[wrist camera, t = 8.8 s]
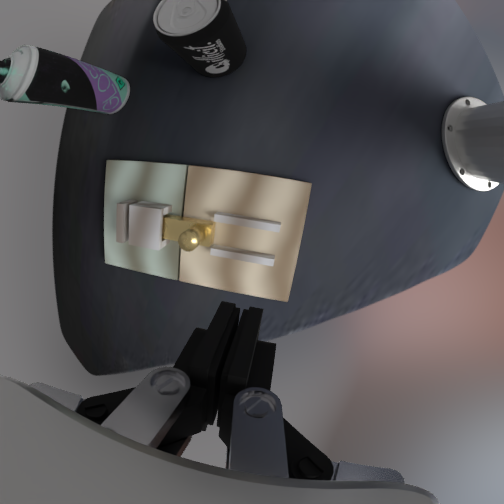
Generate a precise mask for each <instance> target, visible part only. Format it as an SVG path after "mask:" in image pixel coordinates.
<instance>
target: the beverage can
mask: <svg viewBox="0 0 504 504" xmlns="http://www.w3.org/2000/svg"><path fill="white" fill-rule="evenodd" d="M153 22H154V25H155V27H156V31H157V34H158V36H159V38H160V39H161V40H162V41H163V42H165V43H166V44H167V45H168V46H169V47H170V48H172V49H173V50H174V51H175V52H176V53H177V54H178V55H179V56H181V57H182V58H183V59H184V60H185V61H186V62H187V63H188V64H189V65H191V66H192V67H193V68H194V69H195V70H196V71H197V72H198V73H200V74H202V75H204V76H208V77H220V76H224V75H227V74H229V73H231V72H233V71H234V70H236V69H237V68H238V67H239V66H240V65H241V64H242V62H243V61H244V59H245V56H246V45H245V43H244V40H243V38H242V35H241V33H240V30H239V28H238V25H237V23H236V20H235V18H234V16H233V13H232V11H231V8H230V6H229V4H228V2H227V0H162V1H161V2H160V3H159V5H158V6H157V8H156V10H155V12H154V16H153Z"/></svg>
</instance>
